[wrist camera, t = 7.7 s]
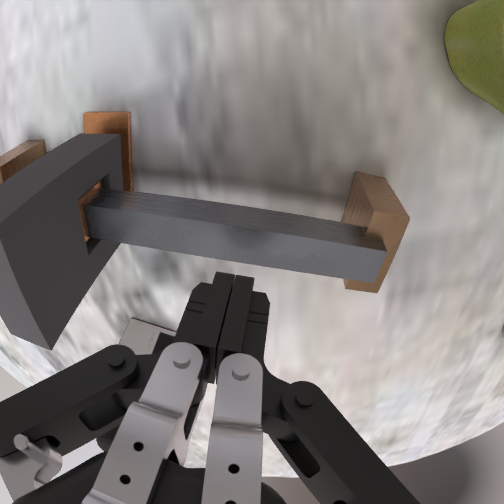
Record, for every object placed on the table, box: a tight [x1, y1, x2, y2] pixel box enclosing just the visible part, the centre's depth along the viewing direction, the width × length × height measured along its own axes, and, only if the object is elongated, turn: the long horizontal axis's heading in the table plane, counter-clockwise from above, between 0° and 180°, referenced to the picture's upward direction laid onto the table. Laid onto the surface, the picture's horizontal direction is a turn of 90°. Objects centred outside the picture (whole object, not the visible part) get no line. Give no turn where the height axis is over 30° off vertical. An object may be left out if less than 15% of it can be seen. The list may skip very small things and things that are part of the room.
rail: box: [0, 112, 410, 293], centre depth 17 cm, size 26×9×6 cm, turn 84°
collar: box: [0, 134, 124, 350], centre depth 14 cm, size 3×7×10 cm, turn 174°
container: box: [96, 319, 176, 452], centre depth 26 cm, size 8×8×13 cm
